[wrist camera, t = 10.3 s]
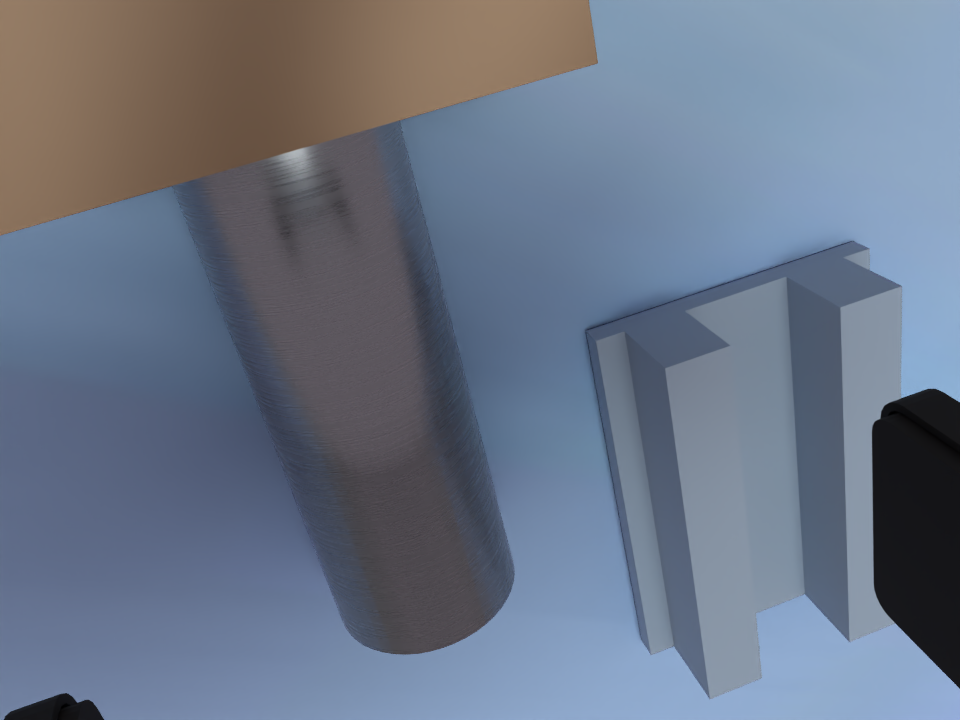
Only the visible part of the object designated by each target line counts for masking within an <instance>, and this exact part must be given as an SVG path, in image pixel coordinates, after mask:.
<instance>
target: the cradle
mask: <svg viewBox="0 0 960 720" xmlns="http://www.w3.org/2000/svg"><path fill="white" fill-rule="evenodd" d="M901 325H902V286H900V285H898V284H896V283H894V282H892V281H890V280H888V279H886V278H884V277H882V276H880V275H878V274H876V273H874V272H872V271H870V254H869V248H867V247H865V246H863V245H860V244H858V243H856V242H854V241H852V242H849V243H846V244H843V245H840V246H837V247H834V248H831V249H828V250H826V251H823V252H820V253H817V254H814V255H811V256H808V257H805V258H802V259H799V260H796V261H793V262H790V263H787V264H784V265H781V266H778V267H775V268H772V269H769V270H766V271H763V272H760V273H757V274H754V275H751V276H748V277H745V278H742V279H739V280H736V281H733V282H730V283H727V284H724V285H721V286H718V287H715V288H712V289H709V290H706V291H703V292H700V293H697V294H694V295H691V296H688V297H685V298H682V299H679V300H676V301H673V302H670V303H667V304H665V305H662V306H659V307H656V308H653V309H650V310H647V311H644V312H641V313H638V314H635V315H632V316H629V317H626V318H623V319H620V320H617V321H614V322H611V323H608V324H605V325H602V326H599V327H596V328H593V329H590V330H587V331H586V334H587V340H588V345H589V351H590V356H591V362H592V367H593V373H594V378H595V384H596V390H597V395H598V401H599V406H600V412H601V417H602V423H603V428H604V434H605V439H606V445H607V450H608V456H609V462H610V467H611V473H612V478H613V484H614V489H615V495H616V500H617V506H618V511H619V517H620V523H621V528H622V534H623V539H624V545H625V550H626V556H627V561H628V567H629V572H630V578H631V584H632V589H633V595H634V600H635V606H636V611H637V617H638V622H639V628H640V633H641V639H642V642H643V643H644V645H645V646H646V648H647V649H648V651H649V653H650V654H651V655H653V654H655V653H658V652H661V651H663V650H666V649H668V648H671V647H673V646H674V647H675V648H676V650H677V651H678V653H679V654H680V656H681V657H682V659H683V660H684V662H685V663H686V664H687V666H688V667H689V669H690V670H691V672H692V673H693V675H694V676H695V678H696V679H697V681H698V682H699V684H700V685H701V687H702V688H703V690H704V691H705V693H706V694H707V696H708V697H709V699H712V698H715V697H717V696H719V695H722V694H724V693H727V692H729V691H732V690H734V689H737V688H739V687H741V686H744V685H746V684H749V683H751V682H754V681H756V680H758V679H761V678H762V674H761V663H760V653H759V642H758V632H757V621H756V613H758V612H761V611H763V610H766V609H768V608H771V607H773V606H776V605H779V604H781V603H784V602H786V601H789V600H791V599H794V598H796V597H799V596H801V595H804V594H805V595H806V596H807V597H808V598H809V599H810V600H811V601H812V602H813V603H814V604H815V605H816V607H817V608H818V609H819V610H820V611H821V612H822V613H823V614H824V615H825V616H826V617H827V618H828V619H829V621H830V622H831V623H832V624H833V625H834V626H835V627H836V628H837V629H838V630H839V631H840V632H841V633H842V635H843V636H844V637H845V638H846V639H847V640H848V641H849V642H851V641H853V640H856V639H858V638H861V637H863V636H866V635H868V634H870V633H873V632H875V631H878V630H880V629H883V628H885V627H887V626H890V625H892V624H895V622H894V621H893V620H892V619H891V618H890V617H889V616H888V615H887V614H886V613H885V611H884V610H883V608H882V607H881V605H880V603H879V601H878V599H877V597H876V594H875V590H874V572H873V490H872V426H873V424H874V422H875V421H877V420H878V419H880V417H881V411H882V409H883V407H884V405H886V404H888V403H890V402H892V401H895V400H898V399H901Z"/></svg>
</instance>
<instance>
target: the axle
mask: <svg viewBox="0 0 960 720" xmlns="http://www.w3.org/2000/svg"><path fill="white" fill-rule="evenodd" d="M172 187H173V189H174V192H175V195H176V197H177V200H178V202H179V205H180V207H181V210H182V212H183V215H184V217H185V220H186V223H187V225H188V228H189V230H190V233H191V235H192V238H193V240H194V243H195V246H196V248H197V251H198V253H199V256H200V258H201V261H202V263H203V266H204V268H205V271H206V274H207V276H208V279H209V281H210V284H211V286H212V289H213V291H214V294H215V296H216V299H217V302H218V304H219V307H220V309H221V312H222V314H223V317H224V319H225V322H226V325H227V327H228V330H229V332H230V335H231V337H232V340H233V342H234V345H235V347H236V350H237V353H238V355H239V358H240V360H241V363H242V365H243V368H244V370H245V373H246V376H247V378H248V381H249V383H250V386H251V388H252V391H253V393H254V396H255V398H256V401H257V404H258V406H259V409H260V411H261V414H262V416H263V419H264V421H265V424H266V427H267V429H268V432H269V434H270V437H271V439H272V442H273V444H274V447H275V449H276V452H277V455H278V457H279V460H280V462H281V465H282V467H283V470H284V472H285V475H286V477H287V480H288V483H289V485H290V488H291V490H292V493H293V495H294V498H295V500H296V503H297V506H298V508H299V511H300V513H301V516H302V518H303V521H304V523H305V526H306V528H307V531H308V534H309V536H310V539H311V541H312V544H313V546H314V549H315V551H316V554H317V557H318V559H319V562H320V564H321V567H322V569H323V572H324V574H325V577H326V579H327V582H328V585H329V587H330V590H331V592H332V595H333V597H334V600H335V602H336V605H337V608H338V610H339V613H340V615H341V618H342V620H343V623H344V625H345V627H346V629H347V630H348V632H349V633H350V634H351V635H352V636H353V637H354V638H355V639H356V640H357V641H358V642H360V643H361V644H363V645H365V646H367V647H369V648H371V649H374V650H377V651H380V652H385V653H391V654H418V653H424V652H430V651H433V650H437V649H441V648H444V647H446V646H449V645H452V644H454V643H456V642H458V641H460V640H463V639H465V638H466V637H468V636H470V635H471V634H473V633H475V632H476V631H478V630H479V629H480V628H481V627H483V626H484V625H485V624H487V623H488V622H489V621H490V620H491V619H492V618H493V617H494V616H495V615H496V614H497V612H498V611H499V610H500V609H501V608H502V606H503V605H504V603H505V601H506V600H507V598H508V596H509V594H510V592H511V589H512V585H513V582H514V564H513V560H512V556H511V552H510V548H509V544H508V541H507V537H506V533H505V529H504V525H503V521H502V517H501V513H500V510H499V506H498V502H497V498H496V494H495V490H494V486H493V482H492V478H491V475H490V471H489V467H488V463H487V459H486V455H485V451H484V447H483V444H482V440H481V436H480V432H479V428H478V424H477V420H476V416H475V413H474V409H473V405H472V401H471V397H470V393H469V389H468V385H467V381H466V378H465V374H464V370H463V366H462V362H461V358H460V354H459V350H458V347H457V343H456V339H455V335H454V331H453V327H452V323H451V319H450V316H449V312H448V308H447V304H446V300H445V296H444V292H443V288H442V285H441V281H440V277H439V273H438V269H437V265H436V261H435V257H434V253H433V250H432V246H431V242H430V238H429V234H428V230H427V226H426V222H425V219H424V215H423V211H422V207H421V203H420V199H419V195H418V191H417V188H416V184H415V180H414V176H413V172H412V168H411V164H410V160H409V156H408V153H407V149H406V145H405V141H404V137H403V133H402V129H401V125H400V122H399V121H396V122H392V123H389V124H385V125H382V126H378V127H375V128H371V129H368V130H364V131H361V132H357V133H354V134H351V135H347V136H344V137H340V138H337V139H333V140H330V141H326V142H323V143H319V144H316V145H312V146H309V147H305V148H302V149H298V150H295V151H291V152H288V153H285V154H281V155H278V156H274V157H271V158H267V159H264V160H260V161H257V162H253V163H250V164H246V165H243V166H239V167H236V168H232V169H229V170H225V171H222V172H219V173H215V174H212V175H208V176H205V177H201V178H198V179H194V180H191V181H187V182H184V183H180V184H177V185H173V186H172Z"/></svg>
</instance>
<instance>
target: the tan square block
mask: <svg viewBox="0 0 960 720" xmlns="http://www.w3.org/2000/svg"><path fill="white" fill-rule="evenodd" d="M597 63H598V60H597V54H596V47H595V40H594V33H593V27H592V20H591V13H590V7H589V0H0V235H3V234H7V233H10V232H14V231H17V230H21V229H24V228H28V227H31V226H35V225H38V224H41V223H45V222H48V221H52V220H55V219H59V218H62V217H66V216H69V215H73V214H76V213H80V212H83V211H87V210H90V209H94V208H97V207H100V206H104V205H107V204H111V203H114V202H118V201H121V200H125V199H128V198H132V197H135V196H139V195H142V194H146V193H149V192H153V191H156V190H160V189H163V188H166V187H170V186H173V185H177V184H180V183H184V182H187V181H191V180H194V179H198V178H201V177H205V176H208V175H212V174H215V173H219V172H222V171H225V170H229V169H232V168H236V167H239V166H243V165H246V164H250V163H253V162H257V161H260V160H264V159H267V158H271V157H274V156H278V155H281V154H285V153H288V152H291V151H295V150H298V149H302V148H305V147H309V146H312V145H316V144H319V143H323V142H326V141H330V140H333V139H337V138H340V137H344V136H347V135H351V134H354V133H357V132H361V131H364V130H368V129H371V128H375V127H378V126H382V125H385V124H389V123H392V122H396V121H399V120H403V119H406V118H410V117H413V116H416V115H420V114H423V113H427V112H430V111H434V110H437V109H441V108H444V107H448V106H451V105H455V104H458V103H462V102H465V101H469V100H472V99H476V98H479V97H482V96H486V95H489V94H493V93H496V92H500V91H503V90H507V89H510V88H514V87H517V86H521V85H524V84H528V83H531V82H535V81H538V80H541V79H545V78H548V77H552V76H555V75H559V74H562V73H566V72H569V71H573V70H576V69H580V68H583V67H587V66H590V65H594V64H597Z"/></svg>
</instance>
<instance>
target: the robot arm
mask: <svg viewBox="0 0 960 720" xmlns="http://www.w3.org/2000/svg"><path fill="white" fill-rule="evenodd" d="M872 490H873V572H874V590H875V594H876V597H877V599H878V601H879V603H880V605H881V607H882V608H883V610H884V611H885V613H886V614H887V615H888V616H889V617H890V618H891V619H892V620H893V621H894V622H895V623H896V624H897V625H898V626H899V627H900V628H901V629H902V630H903V631H904V633H905V634H906V635H907V636H908V637H909V638H910V639H911V640H912V641H913V642H914V643H915V644H916V645H917V646H918V647H919V648H920V649H921V650H922V651H923V652H924V653H925V654H926V655H927V656H928V657H929V658H930V659H931V660H932V661H933V662H934V663H935V664H936V665H937V666H938V667H939V668H940V669H941V670H942V671H943V672H944V673H945V674H946V675H947V676H948V677H949V678H950V679H951V680H952V681H953V682H954V683H955V684H956V685H957V686H958V687H959V688H960V402H958V401H956V400H955V399H953V398H952V397H950V396H948V395H947V394H945V393H944V392H941V391H939V390H937V389H927V390H924V391H921V392H918V393H915V394H912V395H910V396H907V397H904V398H901V399H898V400H895V401H892V402H890V403H888V404H886V405H884V407H883V409H882V411H881V417H880V419H878V420H877V421H875V422H874V424H873V426H872ZM4 720H104V719H103V717H102V715H101V714H100V712H99V710H98V709H97V707H96V706H95V705H94V703H93V702H91V701H90V700H84V701H81V702H79V703H77V702H76V701H75V700H74V698H73V697H72V696H70V695H69V694H67V693H65V694H59V695H57V696H54V697H51V698H48V699H45V700H42V701H40V702H37V703H34V704H31V705H28V706H25V707H23V708H20V709H17V710H14V711H11V712H10V713H9V714H8V715H6V716H5V719H4Z"/></svg>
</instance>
